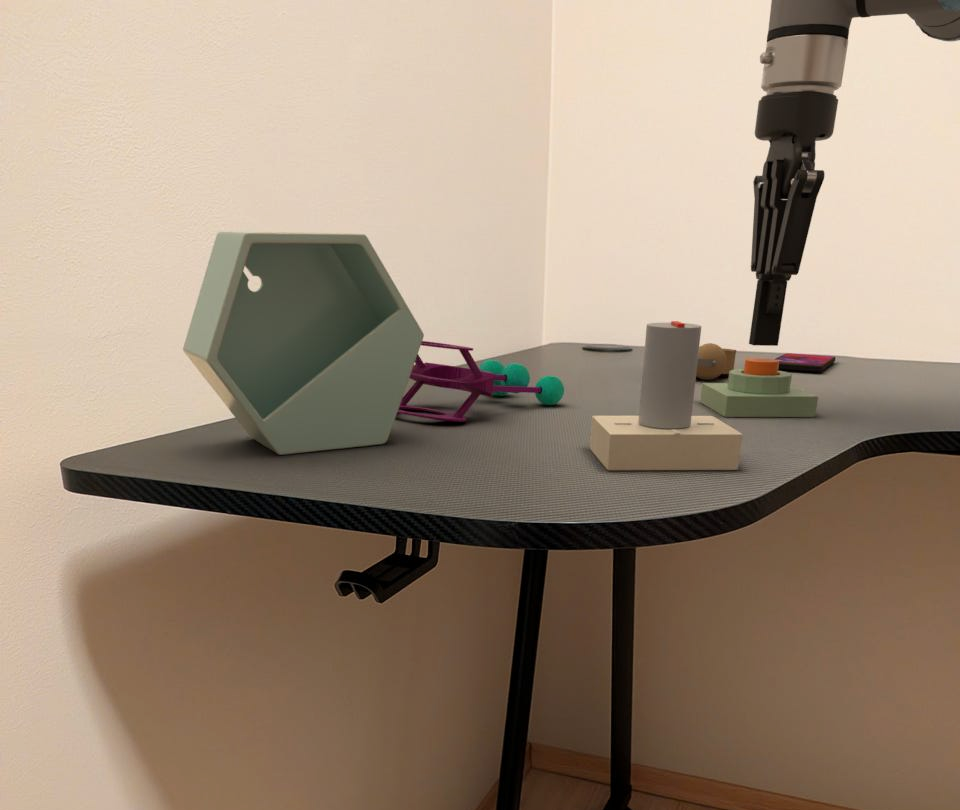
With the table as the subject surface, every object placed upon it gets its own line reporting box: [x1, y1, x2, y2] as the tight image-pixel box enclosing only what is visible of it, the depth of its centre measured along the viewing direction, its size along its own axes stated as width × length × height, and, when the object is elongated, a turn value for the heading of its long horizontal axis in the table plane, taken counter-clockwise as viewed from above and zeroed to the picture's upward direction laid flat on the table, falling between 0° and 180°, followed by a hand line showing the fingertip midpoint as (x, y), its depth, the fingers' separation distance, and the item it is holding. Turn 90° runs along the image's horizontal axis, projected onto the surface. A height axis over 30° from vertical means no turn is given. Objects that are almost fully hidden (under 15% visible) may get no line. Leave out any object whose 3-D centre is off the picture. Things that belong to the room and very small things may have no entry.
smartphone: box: [775, 353, 837, 372], centre depth 136 cm, size 8×1×15 cm
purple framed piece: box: [397, 340, 565, 423], centre depth 98 cm, size 12×20×7 cm, turn 134°
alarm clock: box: [696, 342, 738, 381], centre depth 124 cm, size 11×5×15 cm
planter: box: [182, 231, 425, 456], centre depth 79 cm, size 17×8×21 cm
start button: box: [743, 357, 779, 376], centre depth 100 cm, size 4×4×2 cm
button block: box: [699, 368, 819, 418], centre depth 101 cm, size 10×9×4 cm
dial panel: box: [589, 415, 743, 471], centre depth 78 cm, size 11×9×3 cm
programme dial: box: [638, 320, 702, 429], centre depth 76 cm, size 4×4×8 cm
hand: (763, 344), depth 99 cm, fingers closed
